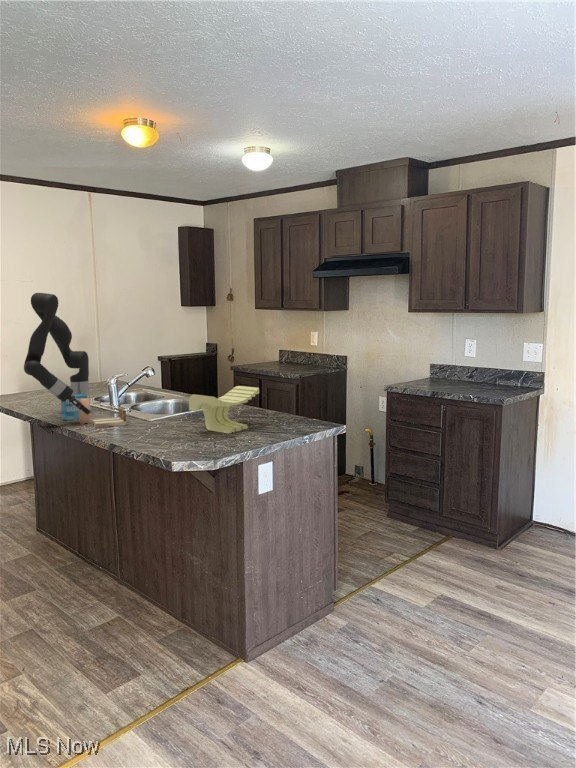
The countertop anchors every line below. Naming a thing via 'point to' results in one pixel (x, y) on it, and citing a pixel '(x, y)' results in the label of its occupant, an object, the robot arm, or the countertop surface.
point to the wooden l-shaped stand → (112, 420)
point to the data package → (70, 409)
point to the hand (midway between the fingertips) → (88, 412)
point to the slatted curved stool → (222, 408)
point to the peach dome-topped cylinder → (82, 415)
